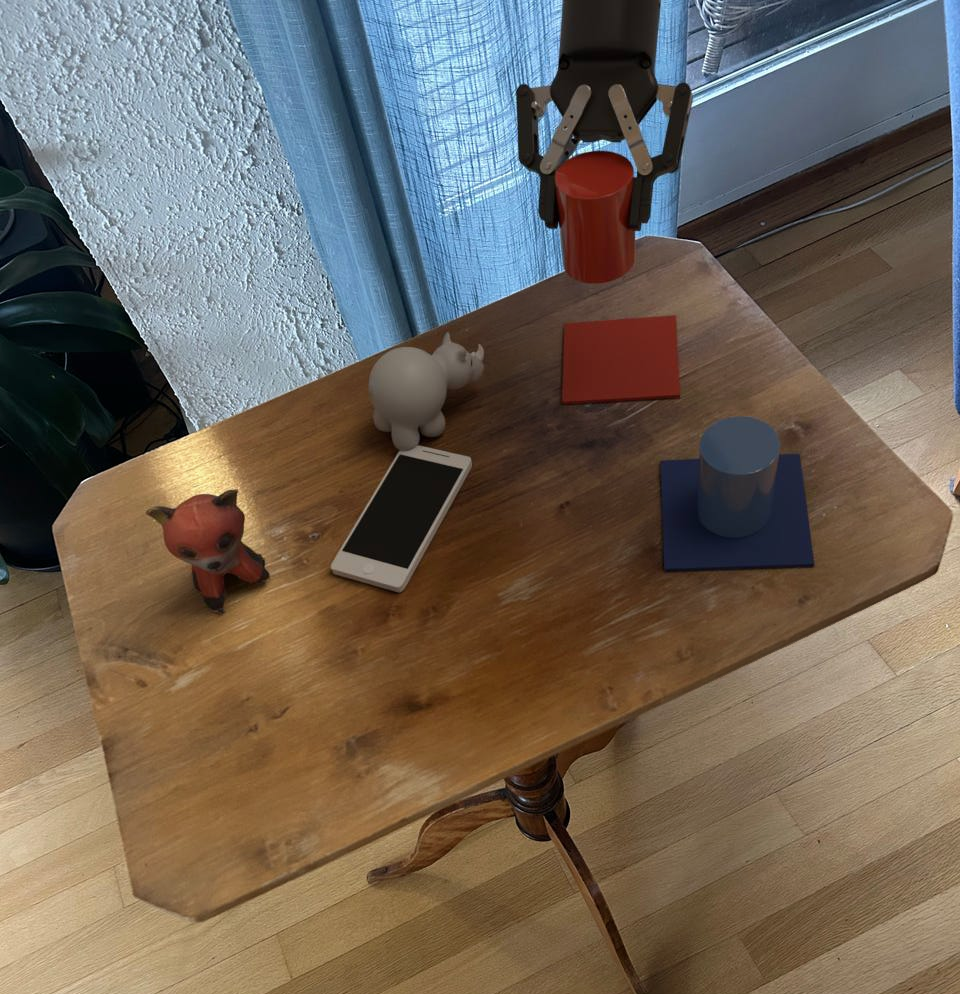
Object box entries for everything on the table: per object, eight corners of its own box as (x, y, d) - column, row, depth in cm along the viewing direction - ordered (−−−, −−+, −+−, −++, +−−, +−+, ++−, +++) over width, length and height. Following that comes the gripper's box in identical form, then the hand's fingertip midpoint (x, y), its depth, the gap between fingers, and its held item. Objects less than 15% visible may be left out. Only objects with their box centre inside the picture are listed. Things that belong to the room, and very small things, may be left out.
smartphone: (331, 573, 90) (328, 567, 90) (406, 448, 97) (404, 441, 96) (402, 594, 88) (400, 587, 87) (474, 463, 95) (472, 456, 94)
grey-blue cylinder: (768, 480, 88) (777, 413, 82) (774, 537, 85) (784, 472, 78) (695, 483, 89) (697, 417, 83) (698, 539, 86) (701, 476, 79)
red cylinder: (635, 233, 88) (633, 146, 82) (636, 280, 85) (634, 194, 78) (563, 239, 89) (555, 154, 83) (561, 286, 86) (553, 202, 79)
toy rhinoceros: (508, 411, 99) (502, 340, 92) (399, 465, 96) (385, 395, 89) (469, 371, 102) (461, 300, 95) (364, 422, 100) (347, 351, 93)
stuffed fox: (263, 510, 96) (217, 418, 86) (289, 599, 90) (243, 511, 80) (186, 537, 95) (131, 448, 85) (207, 629, 89) (150, 545, 79)
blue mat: (799, 456, 90) (799, 453, 89) (813, 566, 83) (814, 563, 83) (660, 463, 92) (660, 460, 91) (664, 571, 85) (664, 568, 85)
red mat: (675, 318, 101) (675, 314, 101) (679, 397, 96) (679, 394, 95) (564, 326, 103) (564, 323, 103) (562, 404, 97) (561, 401, 97)
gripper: (509, -19, 77) (495, 219, 81) (704, -26, 73) (679, 223, 77) (531, 16, 84) (517, 233, 88) (709, 11, 80) (686, 238, 84)
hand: (593, 227), depth 83 cm, fingers closed on red cylinder, 6 cm apart
